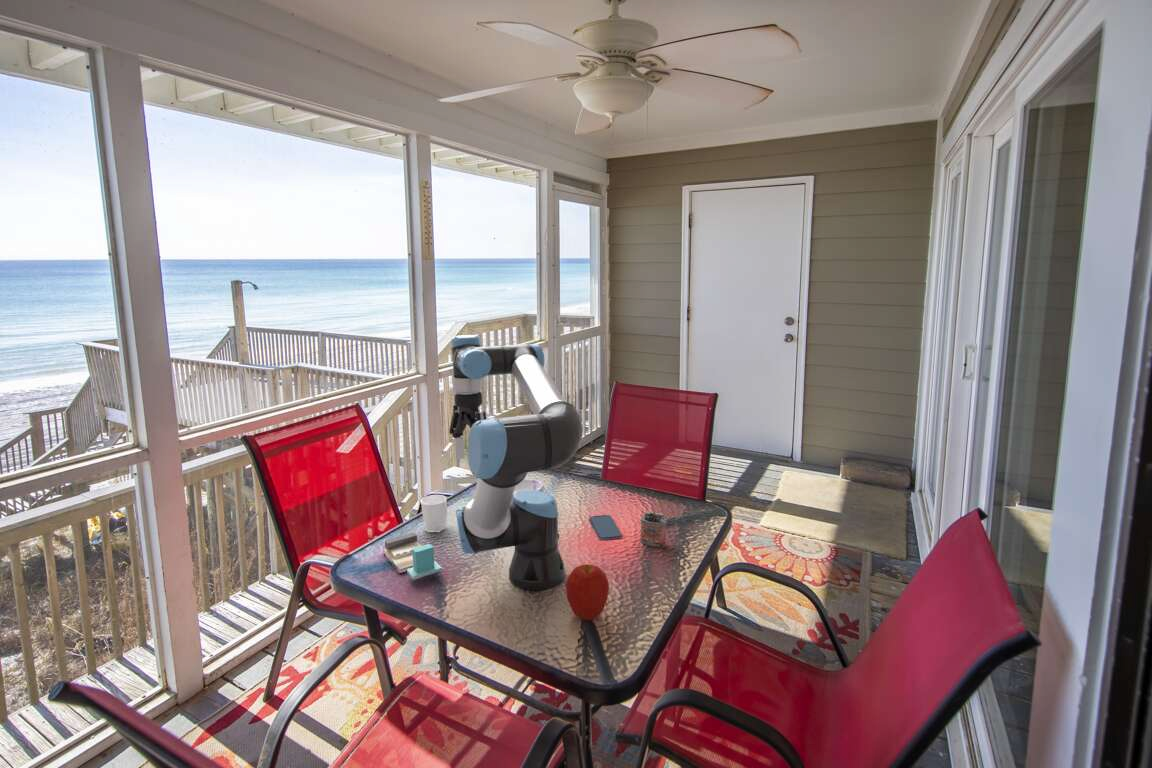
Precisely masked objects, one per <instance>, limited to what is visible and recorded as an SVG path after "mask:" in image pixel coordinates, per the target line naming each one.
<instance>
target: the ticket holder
mask: <svg viewBox="0 0 1152 768" xmlns="http://www.w3.org/2000/svg"><path fill="white" fill-rule="evenodd" d="M420 546H422V544H421V543H419V541H418V535H417V534H416V533H415V532H412V533H408V534H404V535H402V536H398V537H397V536H396V537H394V538H391V539H387V540H384V548H385V549H384V548H383V550H382V552H383V551H384V552H385V553H386V554H387V555H388V556H389V558H390V559H391V560H392V561H393V562H394V564H395V565H396V566H397V567H398V569H399V570H401V569H404V568H408V567H411V566H413V555H412V549H413V548H417V547H420Z"/></svg>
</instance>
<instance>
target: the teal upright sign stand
mask: <svg viewBox="0 0 1152 768" xmlns="http://www.w3.org/2000/svg"><path fill="white" fill-rule="evenodd" d="M434 550H435V549H434V546H433V545H432V544H431V543H427V544H423V545H421V546H420V547H417V548H413V549H412V555H413V567H412V568H408V569H407V572H406V573H407V574H408V575H409V576H410V578H411V579H413V580H417V579H420V578H422V577H426V576H428V575H429V576H430V575H432V574H435V573H438V572H441V571H443V567H442V566H441V565H440V564H439V563H438V562H437V561H436V560H435V552H434Z"/></svg>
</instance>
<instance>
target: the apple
mask: <svg viewBox="0 0 1152 768" xmlns="http://www.w3.org/2000/svg"><path fill="white" fill-rule="evenodd" d="M565 590H566V599H567V602H568V604H569V607H570V608H571V611H572V613H573V614H574V615H575V616H576V617H578V618H579V619H580V620H583V621H593V620H595V619H596V618H597V617H599V616H600V615H601V614H602V613H603V612H604V609H605V607H606V605H607V601H608V599H609V590H610V583H609V580H608V577H607V575H606V573H605V572H604V570H602V568H600V567H599V566H597V565H594V564H589V563H587V564H582V565H578V566H576V567H575V568H573V570H571V572H570V573H569V574H568V576H567V579H566V581H565Z"/></svg>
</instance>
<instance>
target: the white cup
mask: <svg viewBox="0 0 1152 768" xmlns="http://www.w3.org/2000/svg"><path fill="white" fill-rule="evenodd" d="M447 501H448V500H447V497H446V496H445V495H442V494H431V495H427V496H424V497H423V498H421V500H420V504H421V505H420V506H421V513H422V519H423V524H424V530H425V529H426V530H428V531H435V532H436V531H441V530H444V529H445V528H446V529H447V515H448V514H447V513H448V512H447V509H448V507H447ZM446 529H445V530H446ZM445 530H444V531H445Z"/></svg>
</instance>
